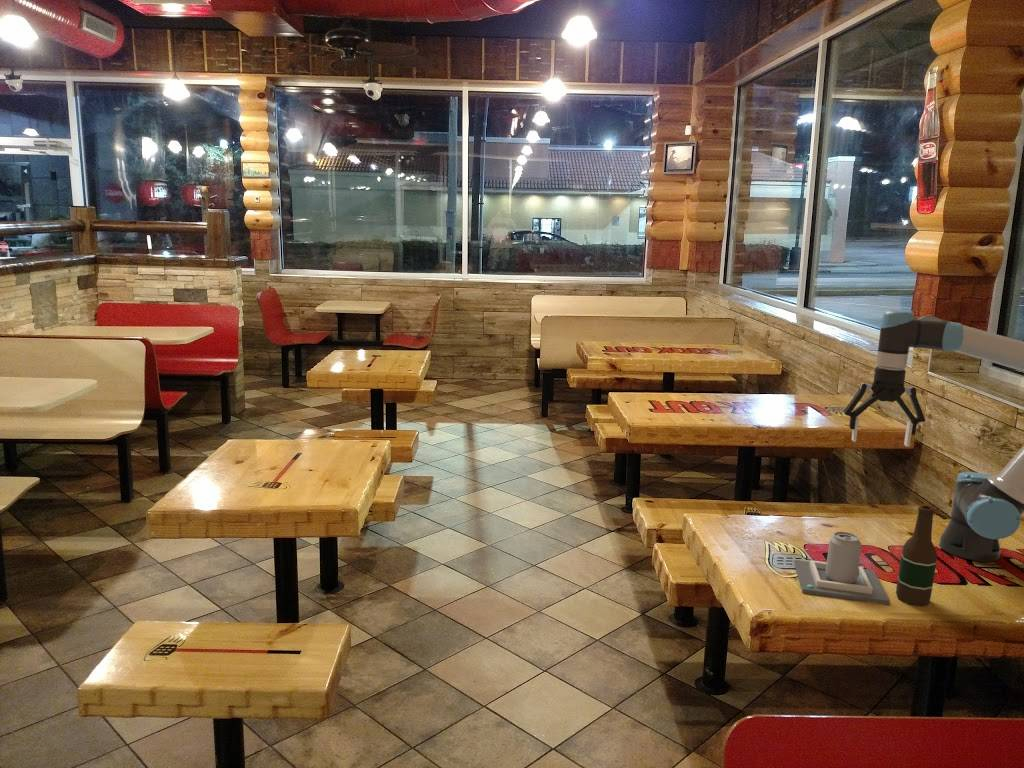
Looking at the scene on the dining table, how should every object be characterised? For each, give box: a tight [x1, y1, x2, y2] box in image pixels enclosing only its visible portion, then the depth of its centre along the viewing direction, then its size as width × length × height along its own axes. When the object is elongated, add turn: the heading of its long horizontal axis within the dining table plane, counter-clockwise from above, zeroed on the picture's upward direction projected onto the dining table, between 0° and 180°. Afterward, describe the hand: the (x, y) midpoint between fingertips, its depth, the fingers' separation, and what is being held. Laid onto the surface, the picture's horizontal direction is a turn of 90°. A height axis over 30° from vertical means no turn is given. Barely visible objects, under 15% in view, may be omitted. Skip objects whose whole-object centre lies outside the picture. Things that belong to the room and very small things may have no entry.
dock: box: [793, 559, 891, 605], centre depth 199 cm, size 20×18×2 cm
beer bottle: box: [895, 505, 938, 607], centre depth 189 cm, size 8×8×24 cm
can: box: [825, 530, 863, 584], centre depth 198 cm, size 8×8×12 cm
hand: (879, 443), depth 214 cm, fingers open, 13 cm apart
